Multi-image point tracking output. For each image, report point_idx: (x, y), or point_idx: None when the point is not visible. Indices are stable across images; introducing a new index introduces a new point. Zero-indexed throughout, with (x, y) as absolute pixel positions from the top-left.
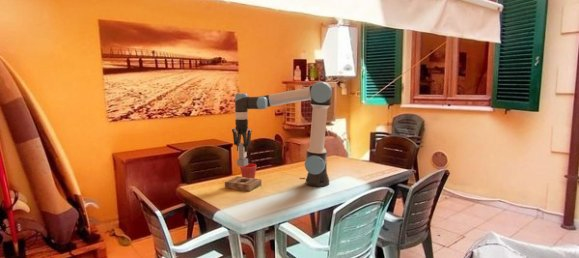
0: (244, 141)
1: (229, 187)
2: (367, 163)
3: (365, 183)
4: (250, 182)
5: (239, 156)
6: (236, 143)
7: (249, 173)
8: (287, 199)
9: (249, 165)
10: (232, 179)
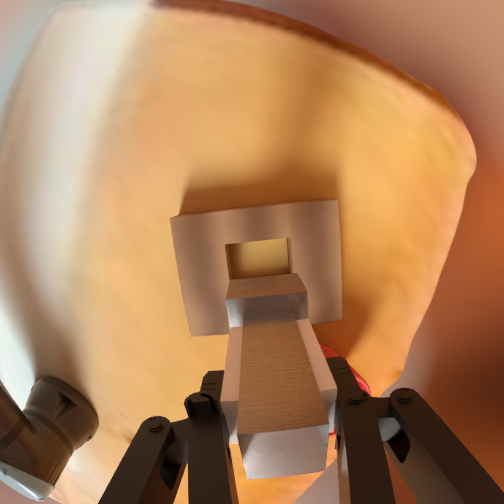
0: (203, 470)
1: (300, 201)
2: None
3: None
4: (199, 262)
5: (290, 320)
6: (382, 417)
7: None
8: (21, 219)
9: None
10: (329, 259)
